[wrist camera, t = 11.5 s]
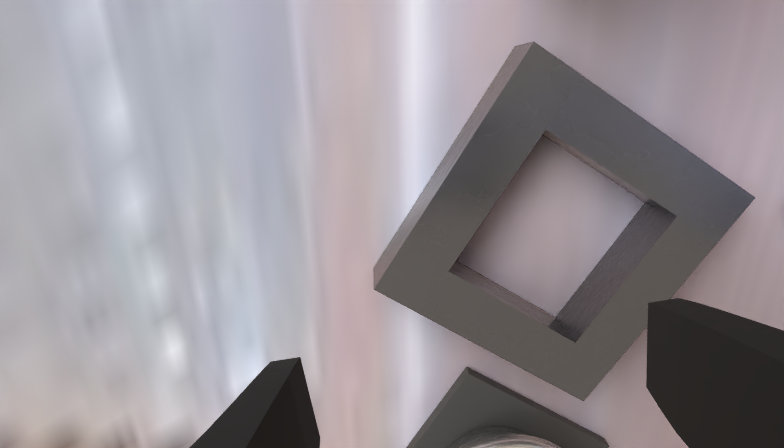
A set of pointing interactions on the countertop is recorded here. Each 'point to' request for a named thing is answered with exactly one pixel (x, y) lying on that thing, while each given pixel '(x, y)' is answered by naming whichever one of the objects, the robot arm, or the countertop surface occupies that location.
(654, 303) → the robot arm
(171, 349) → the countertop surface
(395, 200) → the countertop surface
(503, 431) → the door knob
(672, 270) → the frame
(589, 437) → the mat
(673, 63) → the countertop surface
